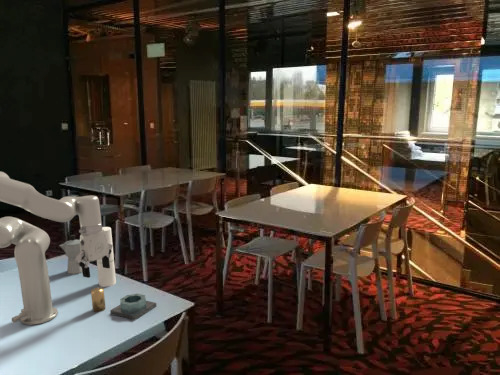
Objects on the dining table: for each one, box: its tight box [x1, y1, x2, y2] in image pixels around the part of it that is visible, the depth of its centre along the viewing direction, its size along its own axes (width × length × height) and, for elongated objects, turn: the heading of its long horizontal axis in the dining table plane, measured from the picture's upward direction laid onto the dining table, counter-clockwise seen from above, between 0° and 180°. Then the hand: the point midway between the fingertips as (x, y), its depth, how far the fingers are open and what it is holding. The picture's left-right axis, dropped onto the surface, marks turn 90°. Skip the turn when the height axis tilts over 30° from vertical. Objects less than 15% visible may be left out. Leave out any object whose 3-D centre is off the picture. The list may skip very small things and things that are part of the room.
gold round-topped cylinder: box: [90, 286, 106, 313], centre depth 164 cm, size 5×5×8 cm
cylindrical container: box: [96, 226, 117, 288], centre depth 187 cm, size 7×7×25 cm
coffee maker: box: [58, 234, 83, 276], centre depth 205 cm, size 15×9×18 cm, turn 114°
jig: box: [110, 293, 157, 321], centre depth 163 cm, size 12×12×4 cm
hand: (96, 272), depth 162 cm, fingers open, 9 cm apart
